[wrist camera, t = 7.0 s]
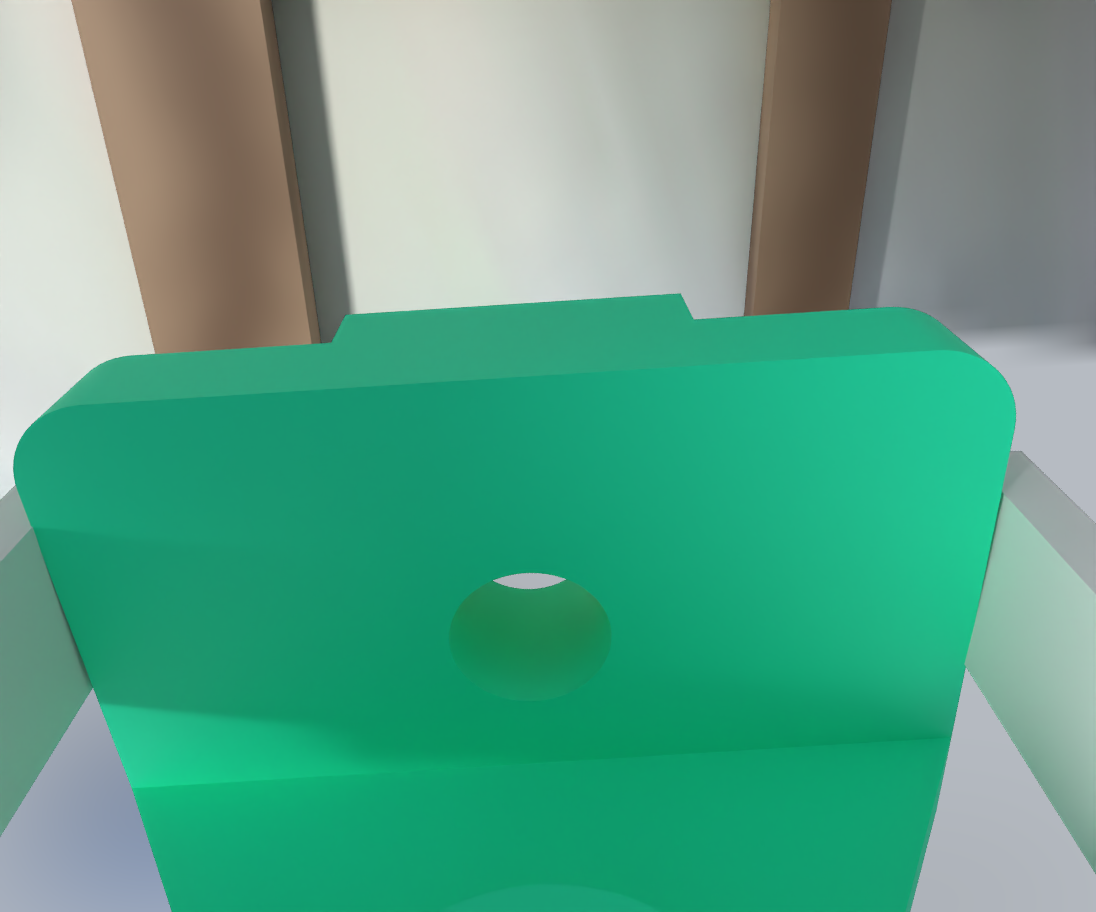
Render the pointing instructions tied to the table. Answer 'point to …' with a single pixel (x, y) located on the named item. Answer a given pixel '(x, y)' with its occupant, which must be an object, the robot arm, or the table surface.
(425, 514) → the camera mount
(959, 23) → the table surface
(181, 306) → the open wooden square frame
